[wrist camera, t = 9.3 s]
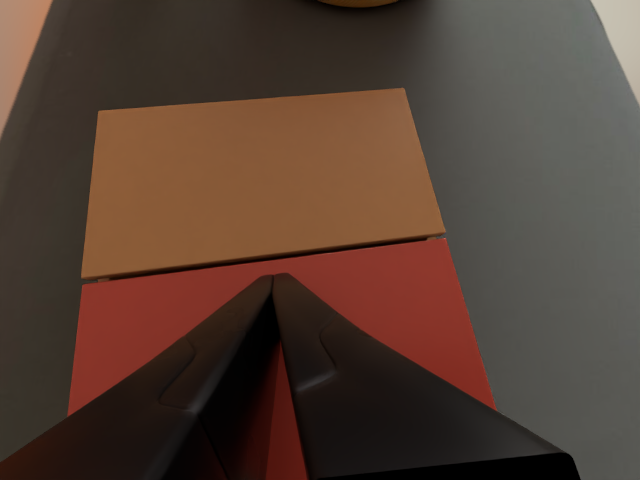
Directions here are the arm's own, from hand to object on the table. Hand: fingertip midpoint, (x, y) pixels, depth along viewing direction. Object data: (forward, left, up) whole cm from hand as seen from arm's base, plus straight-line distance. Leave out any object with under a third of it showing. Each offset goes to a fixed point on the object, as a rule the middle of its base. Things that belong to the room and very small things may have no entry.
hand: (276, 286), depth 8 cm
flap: (-2, +1, -1) cm, 2 cm away
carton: (+1, -1, -8) cm, 8 cm away
